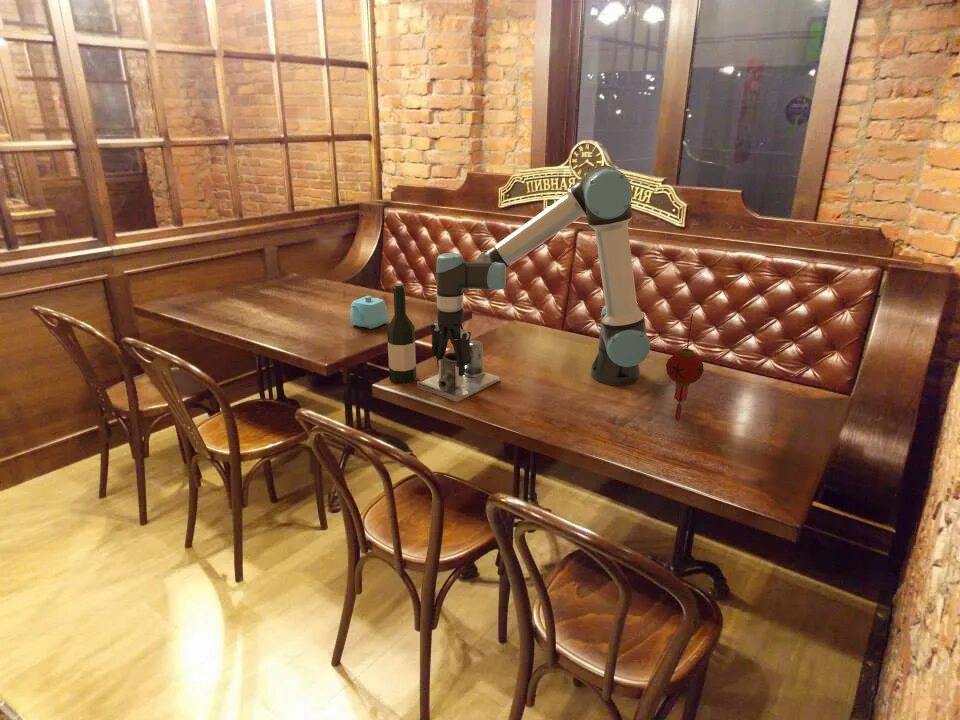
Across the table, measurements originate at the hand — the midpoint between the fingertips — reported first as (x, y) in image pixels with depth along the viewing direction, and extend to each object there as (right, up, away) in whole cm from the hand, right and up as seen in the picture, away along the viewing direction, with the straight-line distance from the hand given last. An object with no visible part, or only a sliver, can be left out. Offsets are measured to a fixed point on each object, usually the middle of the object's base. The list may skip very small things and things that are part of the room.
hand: (451, 381), depth 185 cm
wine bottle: (-15, +1, +7) cm, 17 cm away
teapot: (-35, +20, +53) cm, 67 cm away
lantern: (+62, -10, -18) cm, 65 cm away
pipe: (0, -1, -1) cm, 1 cm away
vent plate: (+2, -1, +3) cm, 4 cm away
